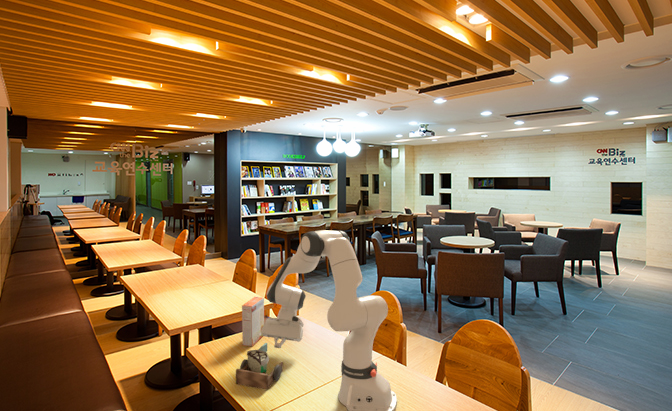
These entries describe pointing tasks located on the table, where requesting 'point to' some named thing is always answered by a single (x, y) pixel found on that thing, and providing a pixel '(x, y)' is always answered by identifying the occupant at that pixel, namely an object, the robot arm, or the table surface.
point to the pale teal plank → (263, 347)
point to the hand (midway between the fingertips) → (277, 347)
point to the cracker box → (252, 321)
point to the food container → (257, 361)
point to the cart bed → (257, 376)
